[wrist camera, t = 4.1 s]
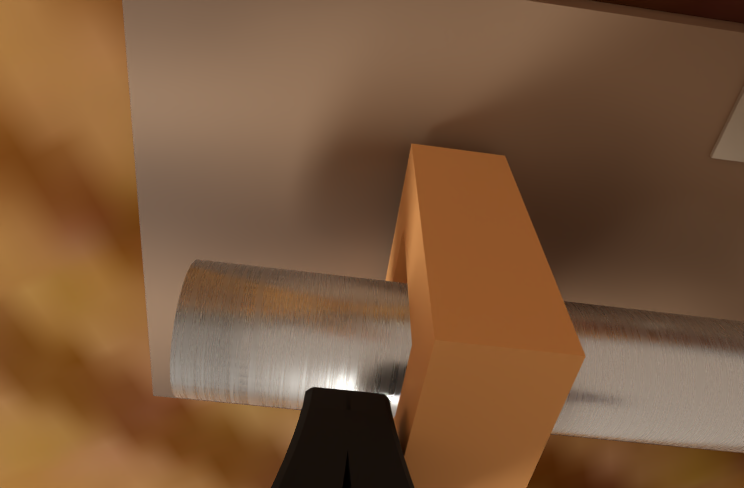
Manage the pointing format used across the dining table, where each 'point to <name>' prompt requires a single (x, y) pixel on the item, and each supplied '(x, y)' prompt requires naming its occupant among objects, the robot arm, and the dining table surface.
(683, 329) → the pipe
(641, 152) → the pipe board
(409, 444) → the collar
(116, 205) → the dining table surface
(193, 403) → the dining table surface
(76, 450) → the dining table surface
